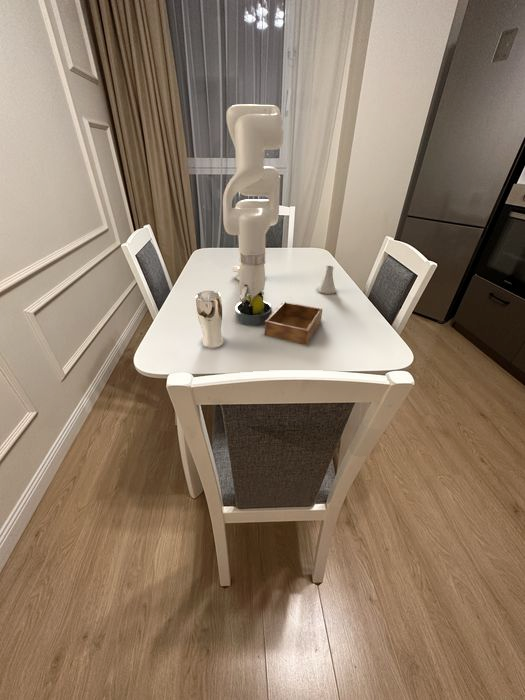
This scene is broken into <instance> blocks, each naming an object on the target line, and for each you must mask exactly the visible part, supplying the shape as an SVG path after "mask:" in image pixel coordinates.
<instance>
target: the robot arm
mask: <svg viewBox="0 0 525 700" xmlns="http://www.w3.org/2000/svg"><path fill="white" fill-rule="evenodd" d="M225 114H226V115H225V116H226V124H227V125H226V126H227V130H228V133H229V135H230V138H231V141H232V144H233V147H234V150H235V173H234V174H233V175H232V177H231V178H230V179H229V181H228V182H227V185H226V186H225V190H224V192H223V195H222V220H223V222H222V223H223V229H224V230H225V232H226V233H227V234H228V235H231V236H237V239H238V260H239V262H238V264H239V266H236V265H233V266H232V272H233V273H236V280H237V281H239V283H238V291H239V300H240V302H242V304H243V311H244V314H247V315H253V305H252V301H253V297H255V296H256V295H259V296H261V297H262V299H263V300H264V295H265V291H264V289H265V287H266V286H265V285H266V268H265V265H266V244H267V243H266V240H267V239H266V237H267V234H266V233H268V231H269V229H270V228H271V226H275V225H277V224H278V221H279V217H280V216H279V215H280V190H281V189H280V188H281V179H280V173H279V171H278V169H277V168H276V167H273V166H265V154H264V153H265V150H267V151H268V150H270V151H272V150H273V151H275V150H276V151H277V150H279V149H281V148H282V145H283V142H284V137H285V136H284V135H285V134H284V130H285V128H284V122H283V121H284V120H283V117H282V114H281V110H280V108H279V107H278V106H277V105H274V104H252V103H251V104H249V103H248V104H246V103H243V104H242V103H241V104H234V105H232V106H229V107H228V109H227V110H226V113H225ZM238 193H240V195H242V196H245V197H266V198H267V199H242V200H239V201H238V202H236V204H235V207H233V200H234V197H235V195H236V194H238ZM248 295H251V296H248ZM246 298H250V300H249V301H248V300H246Z"/></svg>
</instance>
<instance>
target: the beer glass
mask: <svg viewBox="0 0 525 700" xmlns="http://www.w3.org/2000/svg"><path fill="white" fill-rule="evenodd" d="M222 303H223V302H222V298H221V293H220V292H219V291H215V290H203V291H200V292H198V293H196V294H195V307H196V308H195V309H196V314H197V315H196V316H197V318H198V322H199V325H200V328H201V331H202V345H203V346H204V347H205V348H208V349H216V348H219V347H221V346H222V345H224V338H223V335H222V324H223V304H222Z"/></svg>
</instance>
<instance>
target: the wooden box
mask: <svg viewBox="0 0 525 700" xmlns="http://www.w3.org/2000/svg"><path fill="white" fill-rule="evenodd" d="M322 315H323V308H320V307H314V306H310V305H304V304H298V303H294V302H289V301H282V303H281V304H279V305H278V307H277V308H276V309H275V310H274V311H272V314H271V315H270V316H269V318H268V319H267V320H266V321H265V324H264V336H266V337H270V338H275V339H279V340H282V341H288V342H290V343H296V344H299V345H303V346H308V345H309V343H310V341H311V340H312V338H313V336H314V334H315V333H316V331H317V329H319V326H320V324H321V323H322Z"/></svg>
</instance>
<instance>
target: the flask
mask: <svg viewBox="0 0 525 700" xmlns="http://www.w3.org/2000/svg"><path fill="white" fill-rule="evenodd" d="M334 269H335V266H333V265H326V266H325V273H324V276H323V278H322V280H321V281H320V284H319V286H318V288H317V291H318V292H319V293H321V294H327V295H328V294H330V295H331V294H334V293H336V287H335V282H334V275H333V274H334V273H333V271H334Z"/></svg>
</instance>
